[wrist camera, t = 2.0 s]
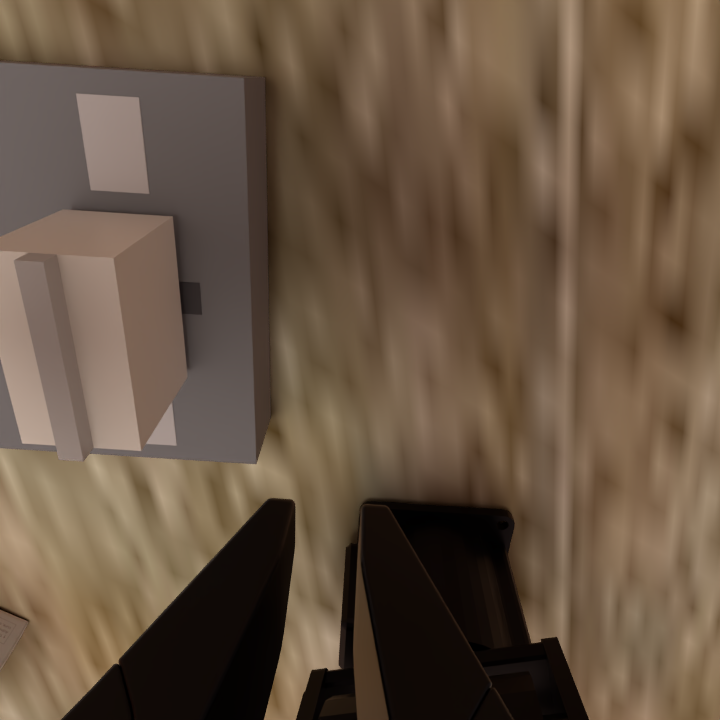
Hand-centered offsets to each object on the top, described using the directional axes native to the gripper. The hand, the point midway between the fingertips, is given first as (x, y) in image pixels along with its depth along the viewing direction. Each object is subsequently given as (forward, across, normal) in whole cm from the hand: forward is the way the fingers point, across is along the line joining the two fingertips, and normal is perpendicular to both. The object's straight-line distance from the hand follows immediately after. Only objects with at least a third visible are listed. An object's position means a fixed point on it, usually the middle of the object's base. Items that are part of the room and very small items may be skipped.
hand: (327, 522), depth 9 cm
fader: (+9, +7, 0) cm, 11 cm away
